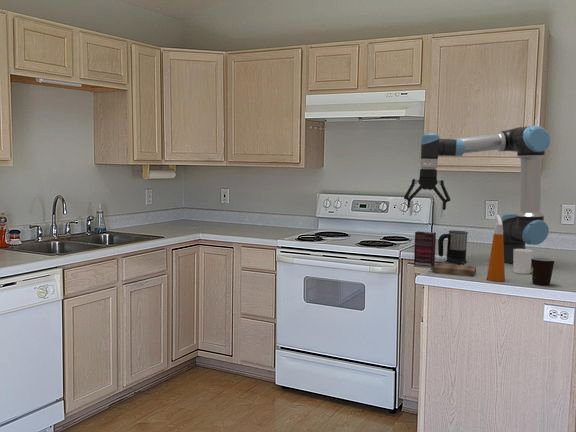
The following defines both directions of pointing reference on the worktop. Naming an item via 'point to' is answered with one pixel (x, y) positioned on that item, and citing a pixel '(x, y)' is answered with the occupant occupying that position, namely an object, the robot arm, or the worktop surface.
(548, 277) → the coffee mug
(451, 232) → the black pitcher
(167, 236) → the worktop surface
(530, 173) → the robot arm
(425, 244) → the supplement box
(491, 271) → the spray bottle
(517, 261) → the white cup
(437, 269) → the walnut board
